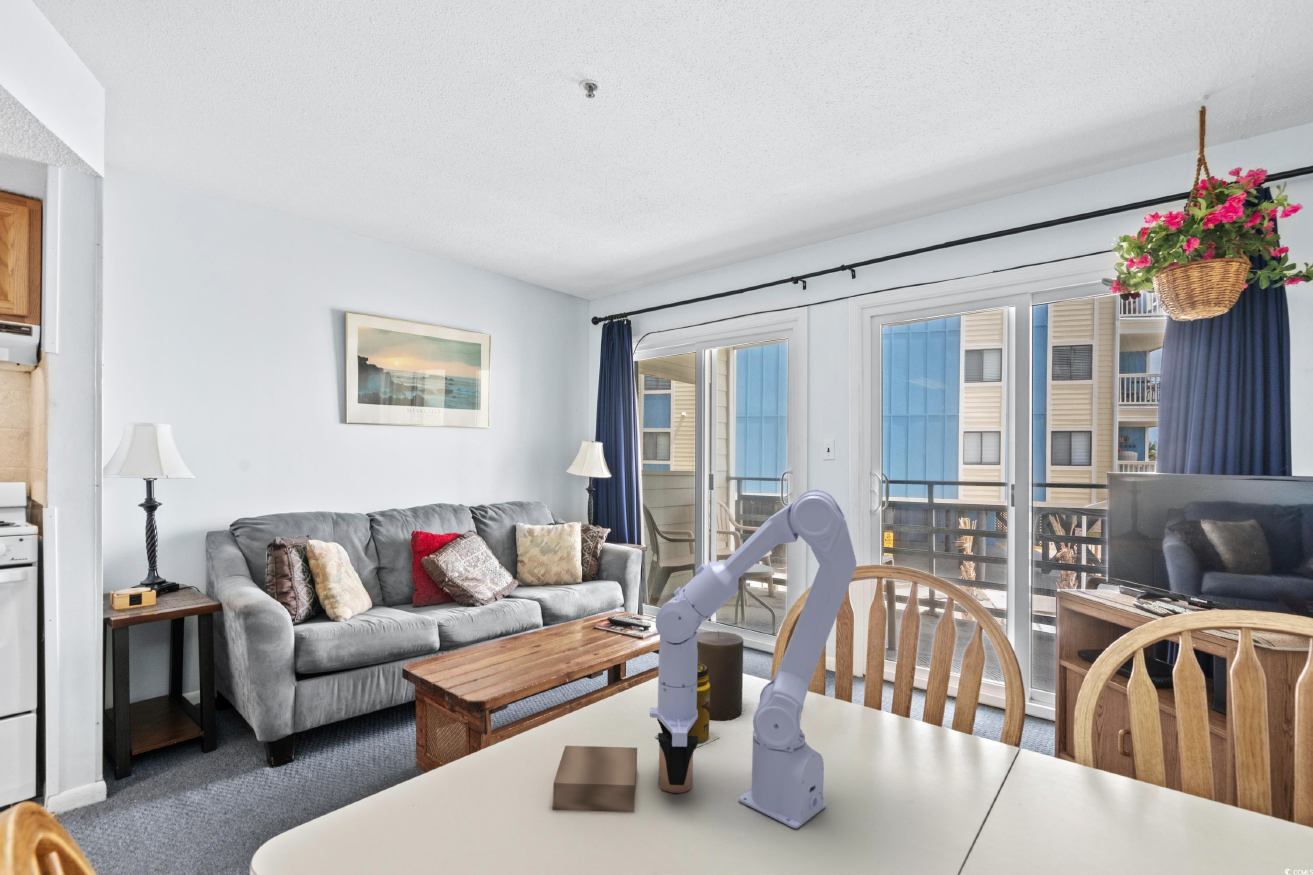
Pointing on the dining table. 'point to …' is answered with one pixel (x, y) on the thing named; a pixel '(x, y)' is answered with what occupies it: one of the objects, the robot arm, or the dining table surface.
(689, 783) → the terracotta cylinder
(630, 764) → the walnut block
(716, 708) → the pillar candle
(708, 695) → the condiment
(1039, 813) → the dining table surface
